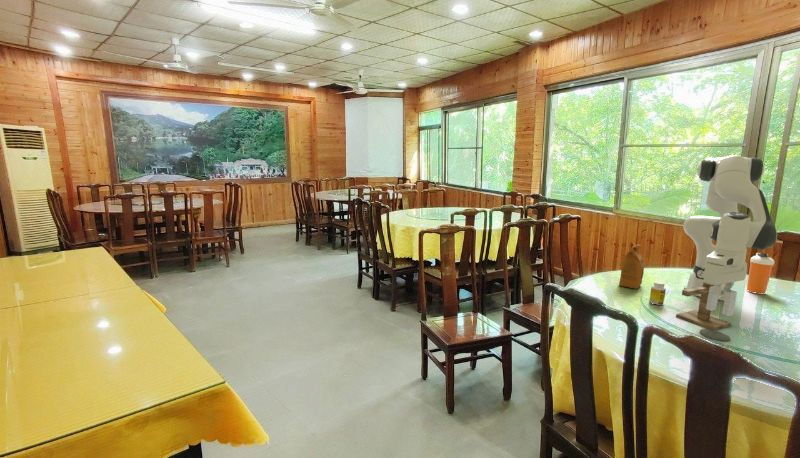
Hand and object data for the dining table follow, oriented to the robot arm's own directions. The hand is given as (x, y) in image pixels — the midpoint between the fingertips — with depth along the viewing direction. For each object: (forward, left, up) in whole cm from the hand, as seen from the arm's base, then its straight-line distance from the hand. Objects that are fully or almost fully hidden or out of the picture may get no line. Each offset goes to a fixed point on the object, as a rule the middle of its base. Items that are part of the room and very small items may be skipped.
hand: (722, 293), depth 143 cm
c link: (0, 0, -7) cm, 7 cm away
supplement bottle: (-12, -30, -17) cm, 37 cm away
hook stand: (-6, -10, -17) cm, 21 cm away
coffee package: (-25, -52, -17) cm, 60 cm away
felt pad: (0, 0, -17) cm, 17 cm away
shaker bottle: (-80, -23, -17) cm, 85 cm away
